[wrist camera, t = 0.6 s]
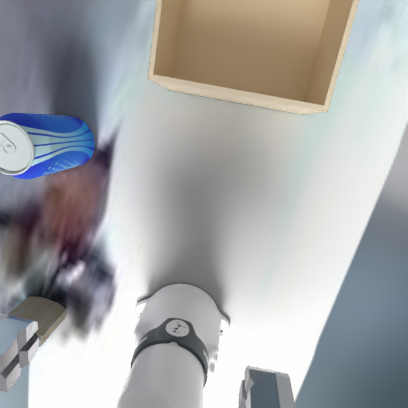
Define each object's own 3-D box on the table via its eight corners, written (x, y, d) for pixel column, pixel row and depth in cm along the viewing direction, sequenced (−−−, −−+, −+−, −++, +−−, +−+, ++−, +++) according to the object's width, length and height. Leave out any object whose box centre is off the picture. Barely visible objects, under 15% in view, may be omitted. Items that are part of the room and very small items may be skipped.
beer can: (93, 113, 49) (31, 108, 34) (102, 163, 51) (47, 180, 36) (47, 118, 50) (-35, 115, 35) (57, 167, 52) (-15, 184, 37)
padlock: (29, 292, 60) (-34, 346, 45) (67, 305, 60) (15, 363, 45) (27, 308, 61) (-36, 365, 47) (64, 321, 61) (12, 382, 47)
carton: (303, 114, 46) (327, 111, 35) (168, 90, 47) (147, 78, 35) (338, -18, 41) (379, -73, 30) (186, -43, 42) (169, -107, 30)
